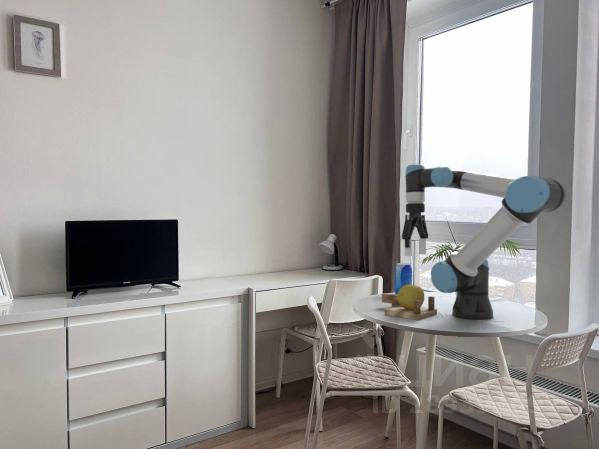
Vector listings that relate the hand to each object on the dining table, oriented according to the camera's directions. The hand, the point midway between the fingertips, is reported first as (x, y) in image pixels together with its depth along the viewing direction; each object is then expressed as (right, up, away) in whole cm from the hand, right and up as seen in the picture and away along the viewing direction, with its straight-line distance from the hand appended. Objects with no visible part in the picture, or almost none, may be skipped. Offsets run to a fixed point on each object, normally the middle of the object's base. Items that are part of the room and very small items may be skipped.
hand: (415, 255), depth 189 cm
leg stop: (-5, -23, +11) cm, 26 cm away
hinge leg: (-7, -21, +7) cm, 23 cm away
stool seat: (-3, -23, -4) cm, 24 cm away
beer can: (+4, -23, +41) cm, 47 cm away
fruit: (-3, -22, -4) cm, 22 cm away
